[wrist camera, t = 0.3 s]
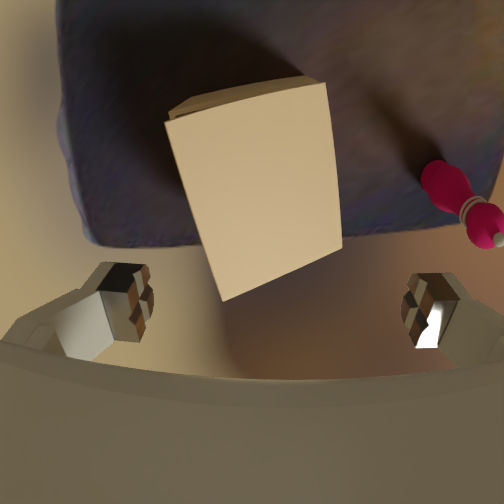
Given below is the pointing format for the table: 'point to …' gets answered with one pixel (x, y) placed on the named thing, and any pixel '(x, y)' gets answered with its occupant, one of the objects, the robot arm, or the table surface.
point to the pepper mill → (463, 203)
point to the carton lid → (260, 184)
